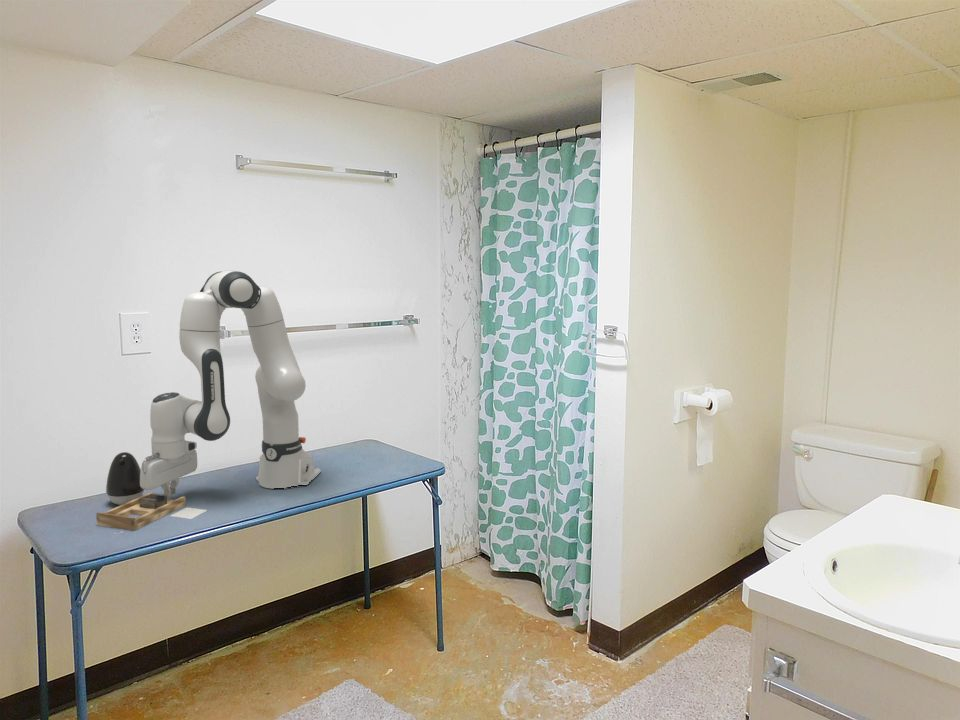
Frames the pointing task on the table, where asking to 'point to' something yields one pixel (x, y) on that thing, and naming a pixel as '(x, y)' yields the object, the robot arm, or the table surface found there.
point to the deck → (137, 513)
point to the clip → (153, 501)
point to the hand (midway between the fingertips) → (170, 494)
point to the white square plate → (189, 513)
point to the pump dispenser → (124, 479)
